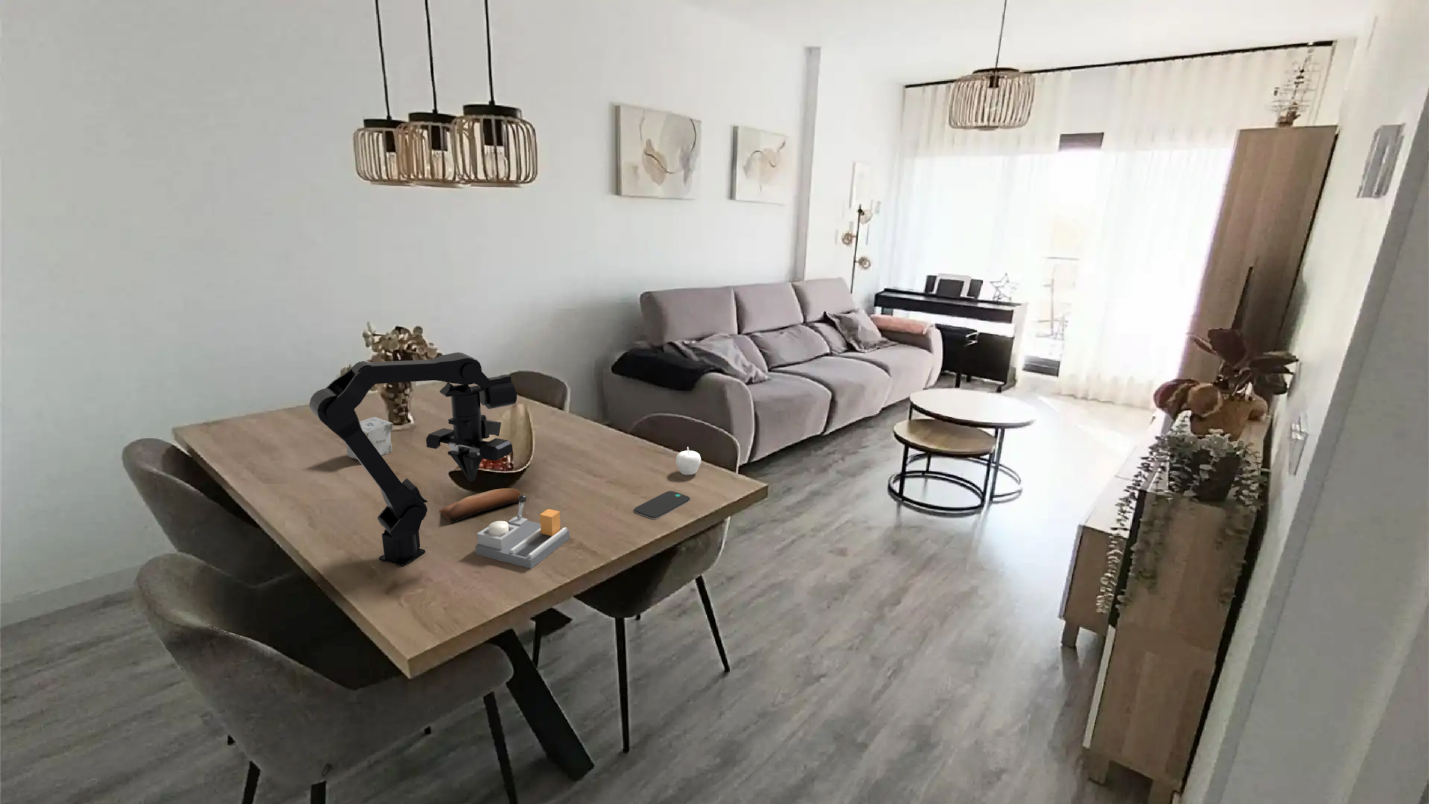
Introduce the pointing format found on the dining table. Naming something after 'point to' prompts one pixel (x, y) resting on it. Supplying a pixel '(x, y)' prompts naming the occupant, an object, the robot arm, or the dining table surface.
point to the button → (498, 528)
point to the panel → (520, 543)
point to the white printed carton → (376, 435)
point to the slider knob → (550, 522)
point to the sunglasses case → (480, 503)
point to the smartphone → (661, 504)
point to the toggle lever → (521, 505)
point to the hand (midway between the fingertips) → (471, 480)
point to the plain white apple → (688, 462)
